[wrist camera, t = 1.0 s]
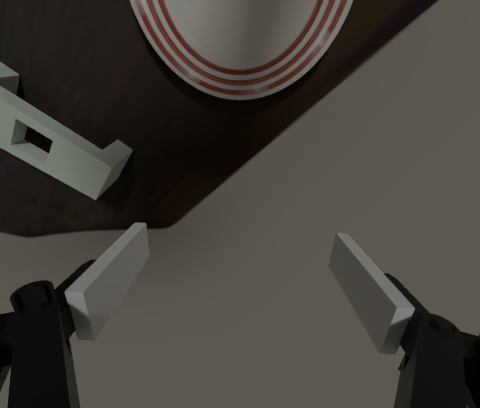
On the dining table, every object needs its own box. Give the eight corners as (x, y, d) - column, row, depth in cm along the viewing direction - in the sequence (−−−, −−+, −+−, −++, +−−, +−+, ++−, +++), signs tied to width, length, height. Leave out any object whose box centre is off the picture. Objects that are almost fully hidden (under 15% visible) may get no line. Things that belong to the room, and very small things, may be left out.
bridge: (-2, 60, 34) (-58, 63, 28) (133, 149, 42) (112, 167, 35) (-8, 104, 38) (-58, 115, 32) (116, 179, 45) (95, 200, 39)
